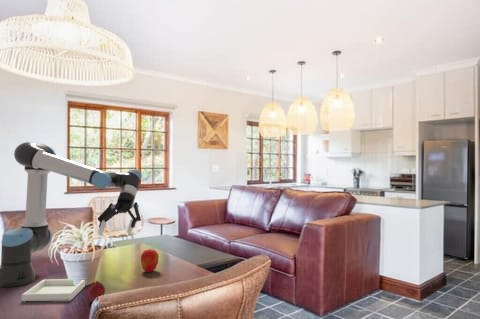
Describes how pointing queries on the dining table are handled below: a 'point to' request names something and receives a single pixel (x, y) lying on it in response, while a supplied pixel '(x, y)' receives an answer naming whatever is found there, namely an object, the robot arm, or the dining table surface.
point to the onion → (96, 290)
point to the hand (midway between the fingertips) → (113, 234)
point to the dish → (53, 290)
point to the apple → (149, 260)
